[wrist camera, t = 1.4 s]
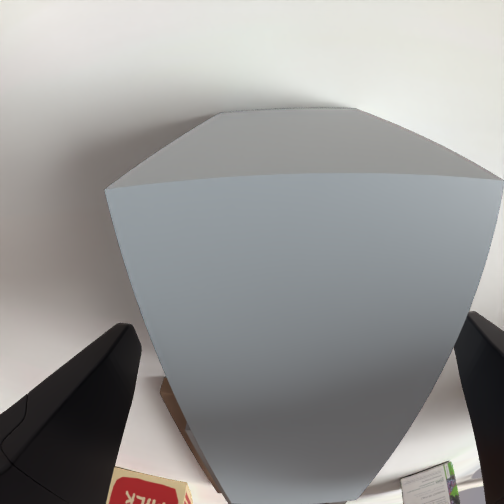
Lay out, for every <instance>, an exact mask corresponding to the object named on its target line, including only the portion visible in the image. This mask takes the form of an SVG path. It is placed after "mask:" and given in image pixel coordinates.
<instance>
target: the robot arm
mask: <svg viewBox="0 0 504 504" xmlns="http://www.w3.org/2000/svg"><path fill="white" fill-rule="evenodd" d="M454 350H455V355H456V359H457V364H458V369H459V374H460V379H461V384H462V388H463V392H464V396H465V400H466V403H467V407H468V411H469V415H470V419H471V423H472V427H473V431H474V436H475V440H476V445H477V450H478V455H479V461H480V466H481V472H482V478H483V485H484V492H485V501H486V504H504V331H502V330H501V329H500V328H498V327H497V326H495V325H494V324H493V323H491V322H490V321H488V320H487V319H485V318H484V317H483V316H481V315H480V314H478V313H477V312H475V311H470V312H468V314H467V317H466V319H465V322H464V324H463V327H462V329H461V331H460V334H459V336H458V338H457V340H456V343H455V345H454ZM141 352H142V348H141V343H140V341H139V339H138V336H137V334H136V331H135V329H134V327H133V325H131V324H128V323H118V324H116V325H115V326H113V327H112V328H111V329H109V330H108V331H107V332H105V333H104V334H103V335H102V336H100V337H99V338H98V339H96V340H95V341H94V342H92V343H91V344H90V345H89V346H87V347H86V348H85V349H83V350H82V351H81V352H80V353H78V354H77V355H76V356H74V357H73V358H72V359H71V360H69V361H68V362H67V363H65V364H64V365H63V366H62V367H60V368H59V369H58V370H56V371H55V372H54V373H53V374H51V375H50V376H49V377H48V378H46V379H45V380H44V381H43V382H41V383H40V384H39V385H38V386H36V387H35V388H34V389H33V390H31V391H30V392H29V393H28V394H26V395H25V396H24V397H22V398H21V399H20V400H19V401H17V402H16V403H15V404H14V405H12V406H11V407H10V408H8V409H7V410H6V411H4V412H3V413H2V414H0V504H106V501H107V497H108V492H109V488H110V484H111V479H112V475H113V471H114V467H115V463H116V459H117V455H118V451H119V447H120V444H121V440H122V436H123V432H124V429H125V425H126V421H127V418H128V414H129V411H130V407H131V404H132V400H133V395H134V390H135V385H136V379H137V373H138V368H139V363H140V358H141Z"/></svg>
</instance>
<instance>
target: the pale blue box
mask: <svg viewBox="0 0 504 504" xmlns="http://www.w3.org/2000/svg"><path fill="white" fill-rule="evenodd" d="M503 188H504V180H503V179H501V178H499V177H498V176H496V175H494V174H493V173H491V172H489V171H488V170H486V169H484V168H483V167H481V166H479V165H477V164H476V163H474V162H472V161H470V160H468V159H467V158H465V157H463V156H461V155H459V154H457V153H455V152H454V151H452V150H450V149H448V148H446V147H444V146H442V145H440V144H438V143H436V142H434V141H432V140H430V139H427V138H425V137H423V136H421V135H419V134H417V133H415V132H412V131H410V130H408V129H406V128H403V127H401V126H399V125H396V124H394V123H392V122H389V121H387V120H384V119H382V118H379V117H377V116H374V115H372V114H369V113H367V112H364V111H361V110H359V109H356V108H282V109H261V110H246V111H233V112H222V113H219V114H217V115H215V116H213V117H212V118H210V119H208V120H207V121H205V122H203V123H202V124H200V125H198V126H197V127H195V128H193V129H192V130H190V131H188V132H187V133H185V134H184V135H182V136H180V137H179V138H177V139H176V140H174V141H173V142H171V143H170V144H168V145H167V146H165V147H163V148H162V149H160V150H159V151H157V152H156V153H154V154H153V155H152V156H150V157H149V158H147V159H146V160H144V161H143V162H141V163H140V164H138V165H137V166H136V167H134V168H133V169H131V170H130V171H129V172H127V173H126V174H125V175H123V176H122V177H120V178H119V179H118V180H116V181H115V182H114V183H112V184H111V185H110V186H108V187H107V188H106V189H104V190H105V194H106V199H107V203H108V207H109V211H110V214H111V218H112V222H113V226H114V229H115V233H116V236H117V240H118V243H119V247H120V250H121V254H122V257H123V260H124V264H125V267H126V270H127V273H128V276H129V279H130V282H131V285H132V288H133V291H134V294H135V297H136V300H137V303H138V306H139V309H140V311H141V314H142V317H143V320H144V322H145V325H146V328H147V330H148V333H149V336H150V338H151V341H152V343H153V346H154V348H155V351H156V353H157V356H158V358H159V361H160V363H161V365H162V368H163V370H164V373H165V375H166V377H167V380H168V382H169V384H170V386H171V389H172V391H173V393H174V395H175V397H176V400H177V402H178V404H179V406H180V408H181V410H182V412H183V415H184V417H185V419H186V421H187V423H188V425H189V427H190V429H191V431H192V433H193V435H194V437H195V439H196V441H197V443H198V445H199V447H200V448H201V450H202V452H203V454H204V456H205V458H206V460H207V462H208V463H209V465H210V467H211V469H212V471H213V472H214V474H215V476H216V478H217V479H218V481H219V483H220V485H221V486H222V488H223V490H224V491H225V493H226V495H227V496H228V498H229V500H230V501H231V503H234V504H320V503H332V502H342V501H351V500H357V498H358V497H359V496H360V495H361V494H362V492H363V491H364V490H365V489H366V488H367V486H368V485H369V484H370V483H371V481H372V480H373V479H374V478H375V476H376V475H377V474H378V472H379V471H380V470H381V468H382V467H383V466H384V464H385V463H386V462H387V460H388V459H389V457H390V456H391V455H392V453H393V452H394V450H395V449H396V448H397V446H398V445H399V443H400V442H401V440H402V439H403V437H404V436H405V434H406V433H407V431H408V430H409V428H410V426H411V425H412V423H413V422H414V420H415V418H416V417H417V415H418V413H419V412H420V410H421V408H422V407H423V405H424V403H425V402H426V400H427V398H428V396H429V394H430V393H431V391H432V389H433V387H434V385H435V383H436V382H437V380H438V378H439V376H440V374H441V372H442V370H443V368H444V366H445V364H446V362H447V360H448V358H449V356H450V354H451V351H452V349H453V347H454V345H455V343H456V340H457V338H458V336H459V334H460V331H461V329H462V327H463V324H464V322H465V319H466V317H467V314H468V312H469V309H470V307H471V304H472V301H473V299H474V296H475V293H476V290H477V287H478V285H479V282H480V279H481V276H482V272H483V269H484V266H485V263H486V260H487V256H488V253H489V249H490V246H491V242H492V238H493V234H494V230H495V226H496V222H497V218H498V213H499V209H500V204H501V199H502V194H503Z"/></svg>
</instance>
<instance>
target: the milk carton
mask: <svg viewBox="0 0 504 504" xmlns="http://www.w3.org/2000/svg"><path fill="white" fill-rule="evenodd" d="M106 504H193V500H192V496H191V492H190V490H189V487H188V484H187V483H186V482H181V481H175V480H170V479H165V478H161V477H156V476H152V475H147V474H143V473H138V472H133V471H129V470H125V469H121V468H117V467H114V471H113V475H112V479H111V484H110V488H109V492H108V497H107V501H106Z"/></svg>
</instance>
